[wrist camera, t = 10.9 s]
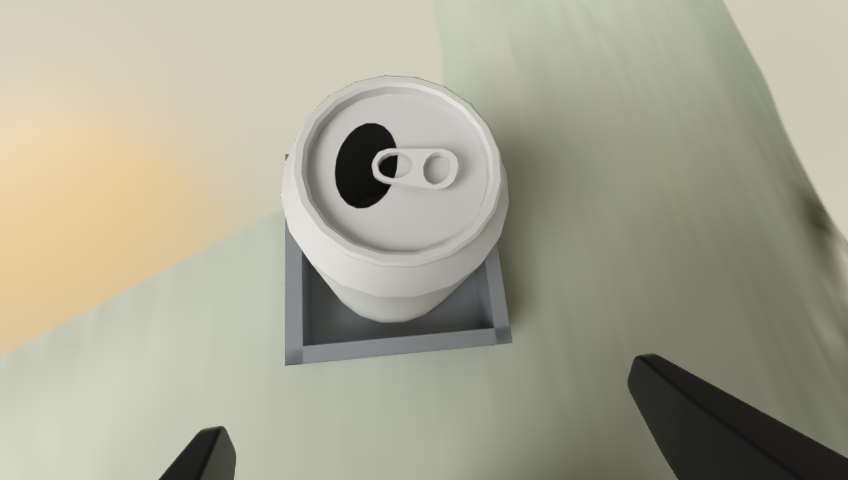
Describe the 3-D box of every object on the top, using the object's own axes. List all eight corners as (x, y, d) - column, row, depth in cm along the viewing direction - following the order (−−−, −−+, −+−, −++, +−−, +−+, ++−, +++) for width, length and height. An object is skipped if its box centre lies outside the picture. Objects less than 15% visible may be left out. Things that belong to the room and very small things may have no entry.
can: (342, 189, 24) (301, 32, 12) (463, 211, 24) (534, 77, 12) (313, 313, 21) (230, 262, 10) (447, 334, 22) (517, 310, 10)
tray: (495, 344, 22) (512, 342, 19) (298, 364, 21) (285, 365, 18) (471, 170, 25) (482, 146, 23) (297, 178, 24) (285, 154, 21)
